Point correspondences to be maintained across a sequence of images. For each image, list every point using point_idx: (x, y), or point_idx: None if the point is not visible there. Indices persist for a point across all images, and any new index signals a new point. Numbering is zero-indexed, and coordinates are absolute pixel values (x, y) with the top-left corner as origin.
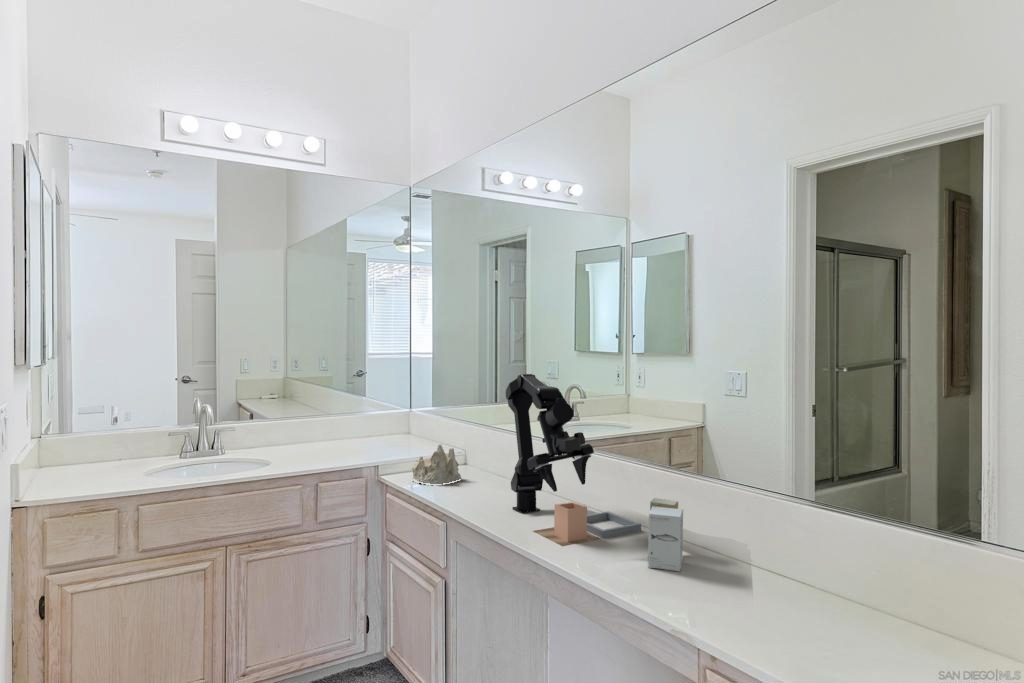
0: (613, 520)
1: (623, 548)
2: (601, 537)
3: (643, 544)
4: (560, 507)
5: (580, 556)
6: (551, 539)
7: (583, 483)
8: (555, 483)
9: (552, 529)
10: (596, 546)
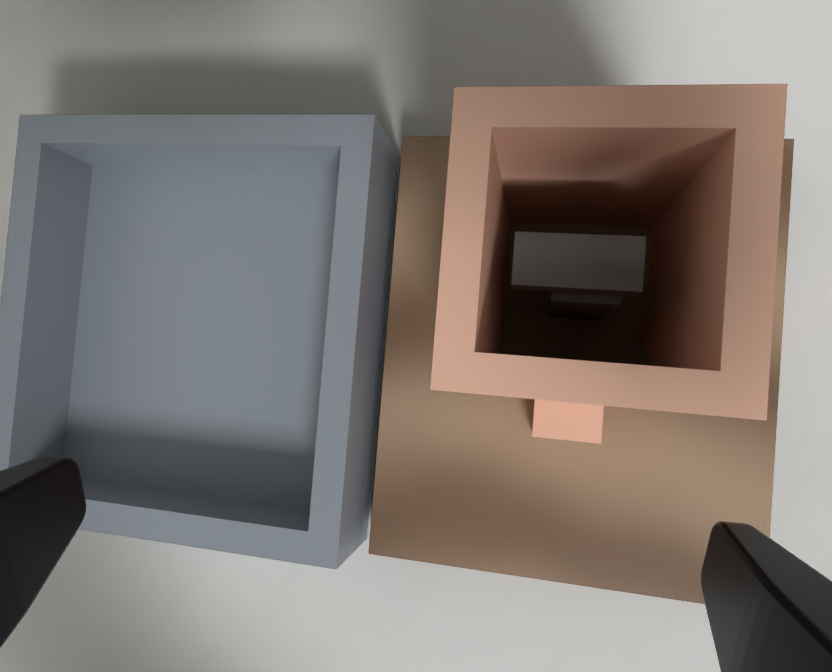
0: (48, 408)
1: (344, 15)
2: (387, 148)
3: (189, 17)
4: (771, 268)
5: (712, 20)
6: None
7: (71, 475)
8: (803, 607)
9: (577, 535)
10: None
